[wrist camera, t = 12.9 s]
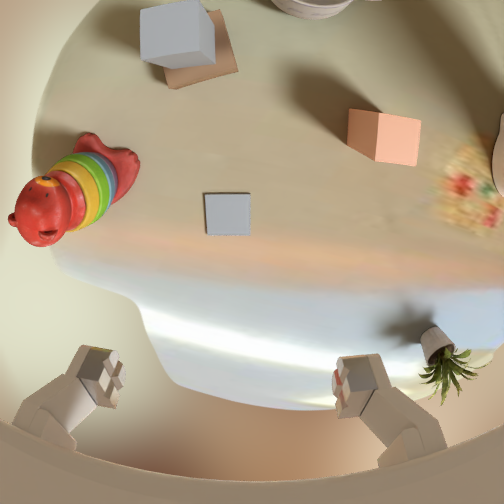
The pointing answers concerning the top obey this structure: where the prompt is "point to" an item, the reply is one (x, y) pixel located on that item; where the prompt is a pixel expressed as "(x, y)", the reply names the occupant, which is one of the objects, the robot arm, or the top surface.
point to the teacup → (312, 7)
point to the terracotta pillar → (384, 136)
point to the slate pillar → (177, 35)
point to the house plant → (442, 360)
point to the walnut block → (205, 72)
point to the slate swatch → (228, 214)
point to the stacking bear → (74, 191)
